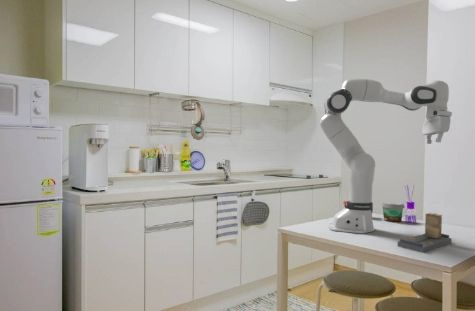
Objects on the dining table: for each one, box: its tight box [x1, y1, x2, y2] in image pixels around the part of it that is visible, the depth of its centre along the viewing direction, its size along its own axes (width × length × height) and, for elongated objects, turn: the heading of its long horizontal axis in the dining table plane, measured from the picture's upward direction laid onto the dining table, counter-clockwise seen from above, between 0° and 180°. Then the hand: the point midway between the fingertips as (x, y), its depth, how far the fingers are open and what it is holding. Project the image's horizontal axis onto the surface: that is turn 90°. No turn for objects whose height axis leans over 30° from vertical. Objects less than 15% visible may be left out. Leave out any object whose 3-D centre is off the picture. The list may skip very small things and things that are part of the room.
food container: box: [381, 202, 405, 223], centre depth 207 cm, size 12×6×10 cm, turn 87°
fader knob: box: [424, 212, 443, 239], centre depth 167 cm, size 4×5×10 cm
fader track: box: [397, 233, 452, 253], centre depth 163 cm, size 25×11×3 cm, turn 127°
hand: (433, 143), depth 180 cm, fingers open, 8 cm apart
